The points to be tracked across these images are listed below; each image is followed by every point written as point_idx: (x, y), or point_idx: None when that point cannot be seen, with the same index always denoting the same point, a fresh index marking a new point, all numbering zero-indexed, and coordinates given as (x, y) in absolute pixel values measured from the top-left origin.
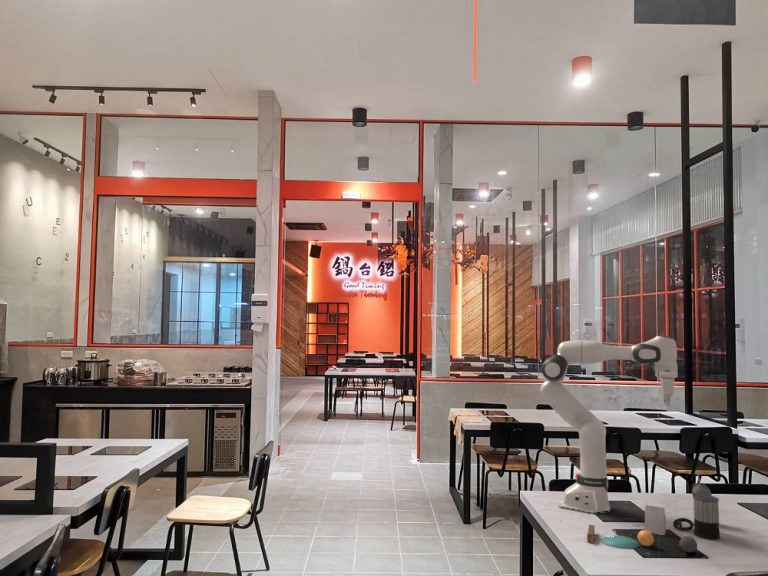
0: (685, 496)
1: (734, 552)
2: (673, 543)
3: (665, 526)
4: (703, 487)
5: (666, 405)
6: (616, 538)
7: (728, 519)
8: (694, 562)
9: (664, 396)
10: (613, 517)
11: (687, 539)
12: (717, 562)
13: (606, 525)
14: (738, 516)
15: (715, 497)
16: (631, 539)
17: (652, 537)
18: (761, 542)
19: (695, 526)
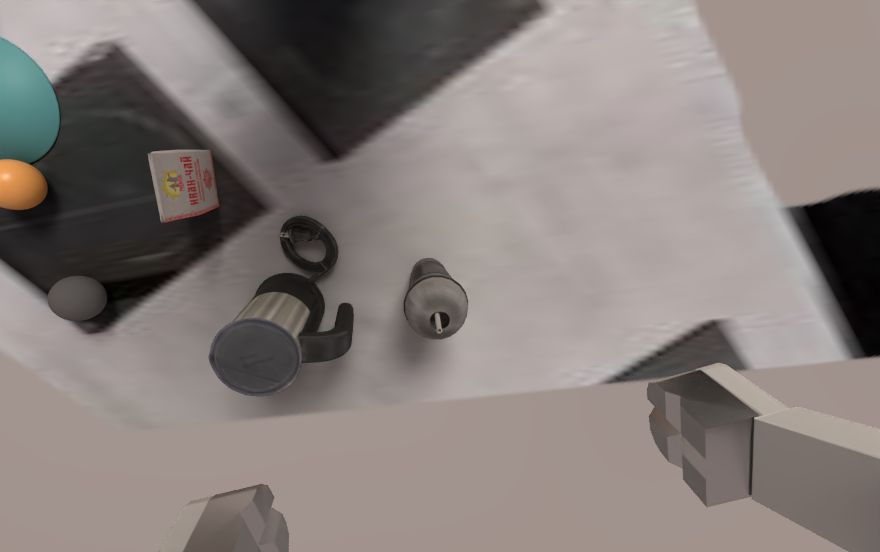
0: (721, 180)
1: (199, 375)
2: (136, 243)
3: (209, 210)
4: (419, 327)
5: (193, 511)
6: (8, 84)
7: (507, 325)
8: (20, 315)
9: (870, 479)
10: (260, 8)
11: (49, 305)
12: (77, 356)
13: (134, 10)
14: (558, 341)
15: (289, 382)
16: (47, 131)
17: (6, 208)
18: (341, 410)
19: (261, 289)
